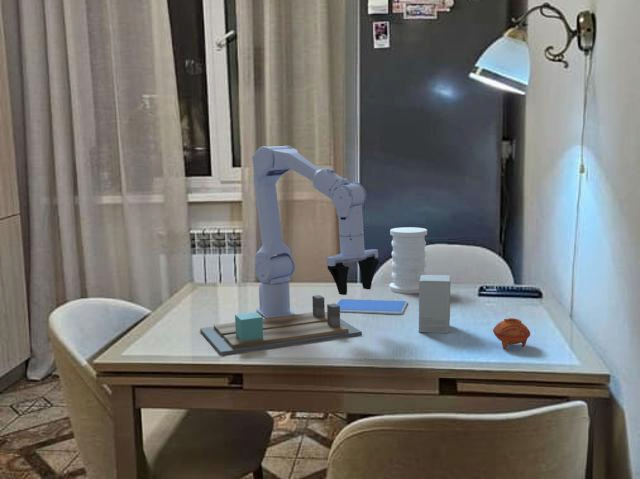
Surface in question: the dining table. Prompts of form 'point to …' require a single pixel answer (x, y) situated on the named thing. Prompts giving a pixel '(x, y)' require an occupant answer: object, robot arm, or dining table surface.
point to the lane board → (226, 349)
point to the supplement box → (434, 303)
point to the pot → (511, 332)
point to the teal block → (249, 326)
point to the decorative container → (407, 258)
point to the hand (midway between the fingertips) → (355, 291)
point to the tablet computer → (372, 306)
